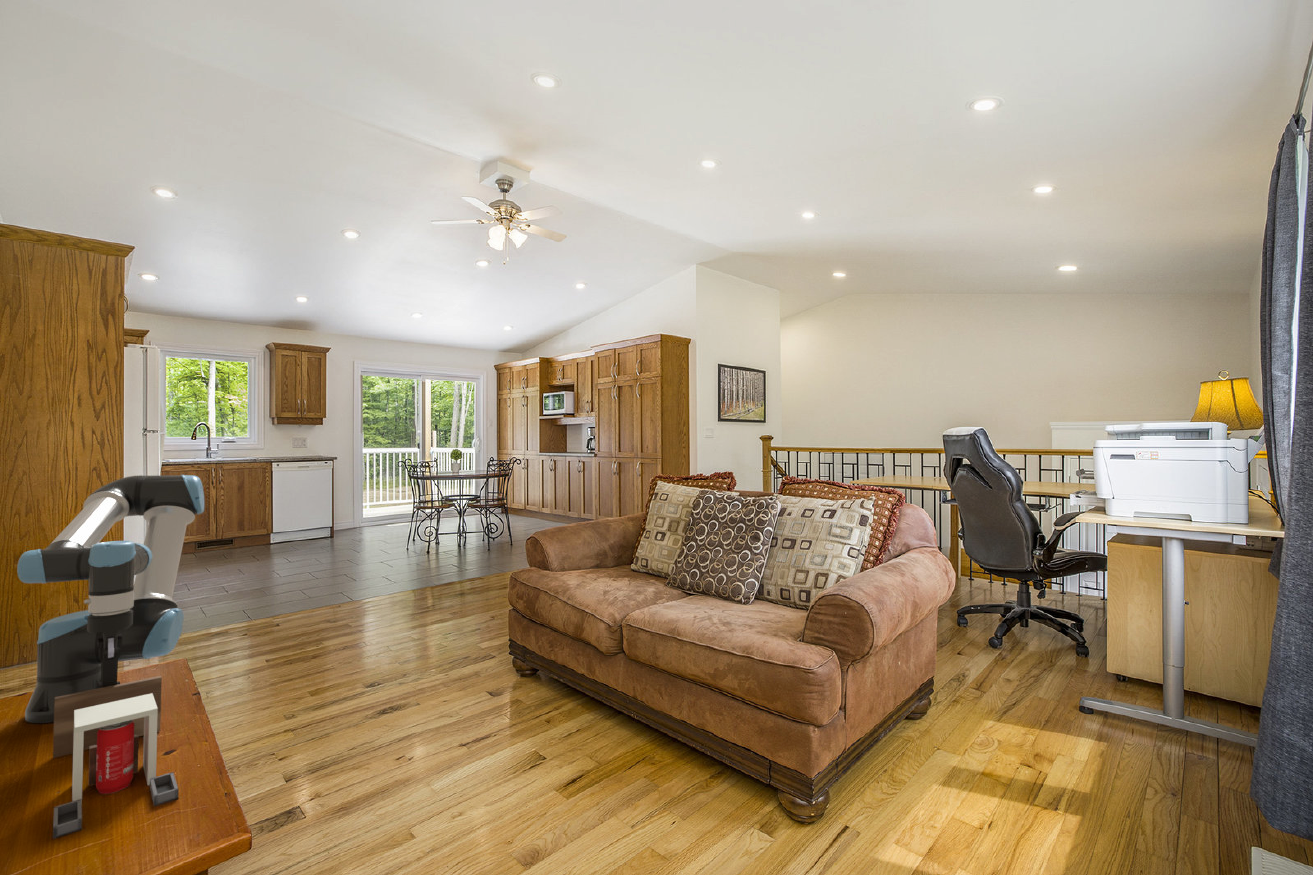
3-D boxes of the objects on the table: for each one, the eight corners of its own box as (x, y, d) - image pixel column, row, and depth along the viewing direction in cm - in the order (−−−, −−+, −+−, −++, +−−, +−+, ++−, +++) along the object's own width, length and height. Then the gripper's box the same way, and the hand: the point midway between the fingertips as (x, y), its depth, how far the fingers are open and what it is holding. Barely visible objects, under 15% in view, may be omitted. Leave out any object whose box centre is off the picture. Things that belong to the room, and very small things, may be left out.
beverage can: (110, 797, 109) (112, 731, 109) (88, 793, 110) (89, 728, 110) (140, 781, 114) (141, 718, 114) (118, 778, 115) (120, 716, 115)
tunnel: (72, 785, 112) (74, 710, 113) (150, 763, 120) (152, 693, 121) (72, 808, 105) (74, 727, 106) (155, 783, 113) (157, 708, 114)
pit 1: (53, 817, 103) (54, 807, 103) (81, 809, 105) (81, 799, 105) (52, 839, 97) (53, 828, 97) (81, 829, 99) (82, 819, 99)
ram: (53, 755, 123) (54, 697, 123) (159, 728, 135) (160, 675, 135) (50, 797, 108) (52, 730, 108) (170, 762, 120) (171, 703, 120)
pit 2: (149, 788, 112) (149, 778, 112) (172, 781, 114) (173, 771, 114) (154, 806, 106) (154, 796, 106) (178, 798, 108) (178, 788, 108)
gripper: (87, 609, 134) (83, 714, 133) (88, 620, 125) (84, 733, 124) (131, 603, 139) (128, 704, 139) (135, 613, 130) (132, 722, 129)
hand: (107, 718), depth 131 cm, fingers closed
